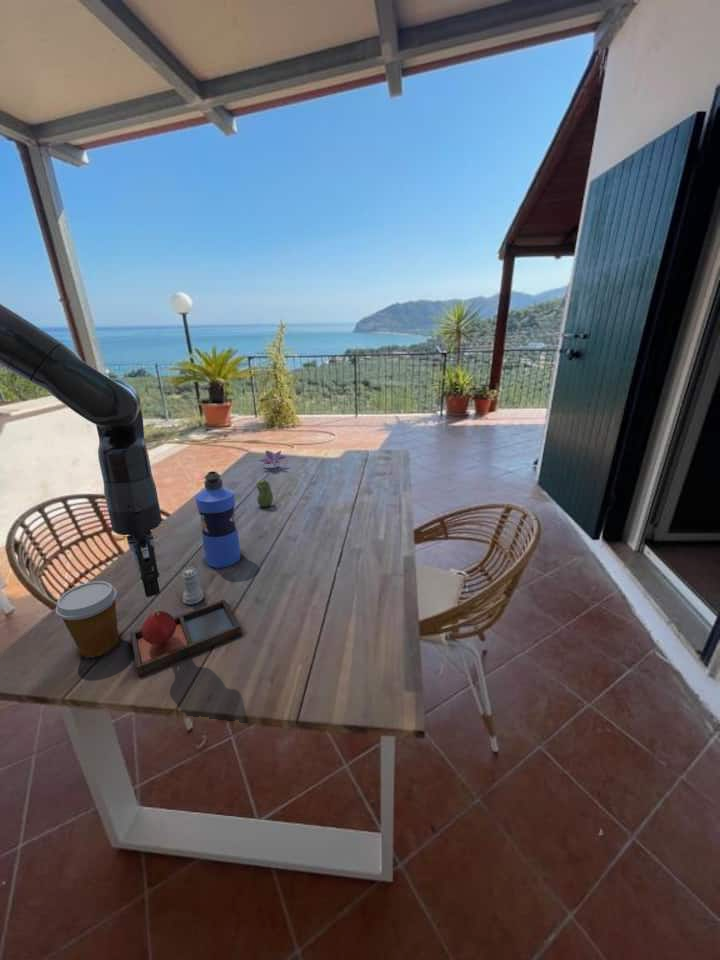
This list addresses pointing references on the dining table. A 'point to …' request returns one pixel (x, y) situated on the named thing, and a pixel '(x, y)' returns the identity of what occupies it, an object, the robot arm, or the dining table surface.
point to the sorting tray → (187, 636)
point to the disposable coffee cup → (90, 617)
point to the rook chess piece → (191, 587)
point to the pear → (264, 493)
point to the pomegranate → (158, 628)
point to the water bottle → (218, 523)
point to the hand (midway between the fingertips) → (149, 582)
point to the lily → (272, 457)
